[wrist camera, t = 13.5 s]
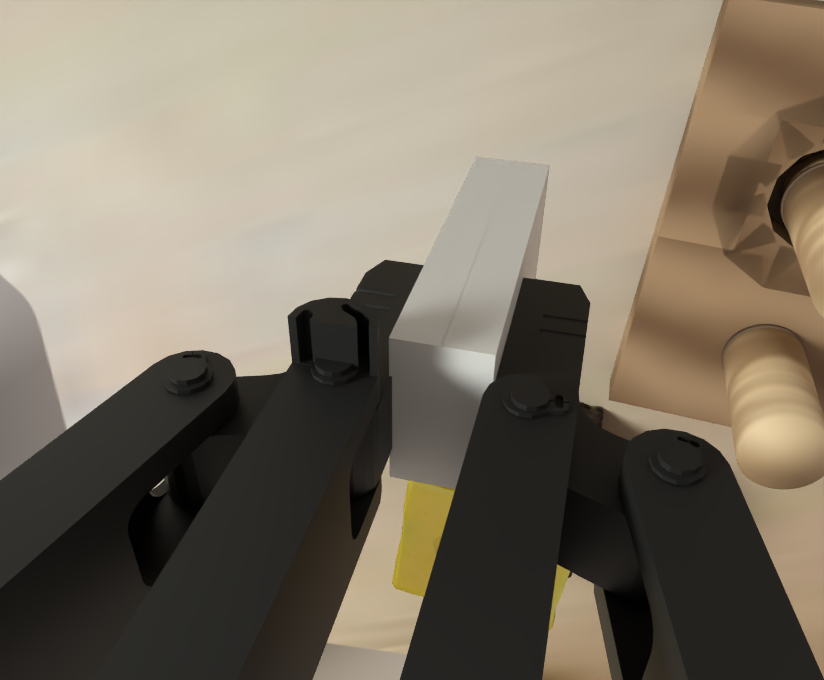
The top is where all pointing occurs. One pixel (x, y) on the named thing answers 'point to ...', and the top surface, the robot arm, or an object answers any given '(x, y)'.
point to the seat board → (738, 253)
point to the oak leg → (807, 222)
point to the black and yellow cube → (426, 527)
